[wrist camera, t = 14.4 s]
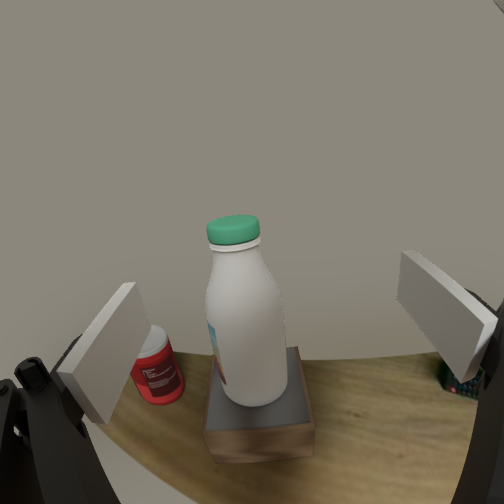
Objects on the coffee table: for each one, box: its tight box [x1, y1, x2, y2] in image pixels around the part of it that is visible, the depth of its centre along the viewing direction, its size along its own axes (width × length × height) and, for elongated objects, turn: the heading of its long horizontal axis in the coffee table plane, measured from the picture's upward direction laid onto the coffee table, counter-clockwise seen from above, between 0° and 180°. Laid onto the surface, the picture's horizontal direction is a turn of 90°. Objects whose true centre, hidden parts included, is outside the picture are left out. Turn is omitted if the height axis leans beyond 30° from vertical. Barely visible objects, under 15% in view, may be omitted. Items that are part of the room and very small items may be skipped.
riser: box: [202, 347, 316, 464], centre depth 33 cm, size 12×14×8 cm
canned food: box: [130, 325, 184, 405], centre depth 39 cm, size 8×8×11 cm
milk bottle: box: [205, 215, 287, 407], centre depth 28 cm, size 8×8×20 cm
